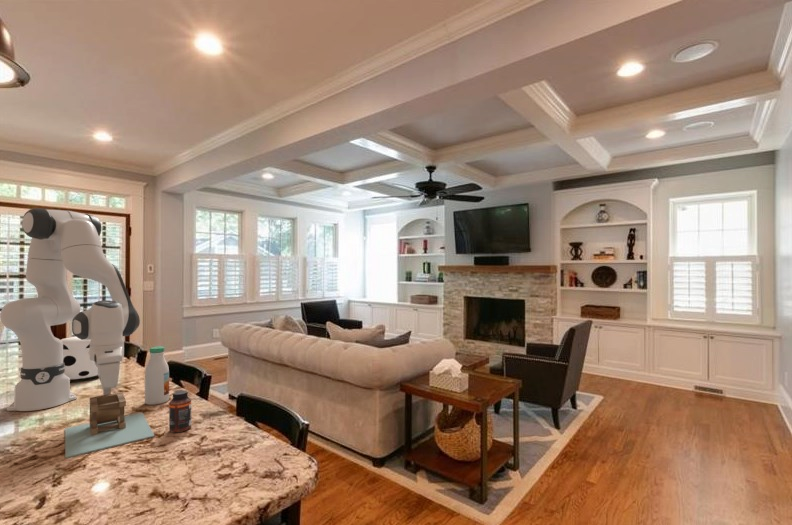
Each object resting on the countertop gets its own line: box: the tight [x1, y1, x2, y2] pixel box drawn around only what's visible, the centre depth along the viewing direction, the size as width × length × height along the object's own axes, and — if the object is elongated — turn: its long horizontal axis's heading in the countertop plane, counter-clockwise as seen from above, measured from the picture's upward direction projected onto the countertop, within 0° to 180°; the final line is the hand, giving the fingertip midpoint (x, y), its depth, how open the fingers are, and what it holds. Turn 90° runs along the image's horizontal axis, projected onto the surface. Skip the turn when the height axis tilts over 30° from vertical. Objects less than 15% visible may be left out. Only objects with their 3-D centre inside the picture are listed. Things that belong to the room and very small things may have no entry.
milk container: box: [60, 336, 99, 382], centre depth 177 cm, size 17×17×18 cm
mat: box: [64, 412, 156, 459], centre depth 118 cm, size 24×20×1 cm
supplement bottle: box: [168, 389, 192, 433], centre depth 121 cm, size 6×6×11 cm
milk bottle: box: [144, 346, 170, 406], centre depth 146 cm, size 8×8×20 cm
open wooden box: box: [89, 391, 127, 436], centre depth 122 cm, size 9×8×8 cm
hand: (106, 395), depth 126 cm, fingers closed
